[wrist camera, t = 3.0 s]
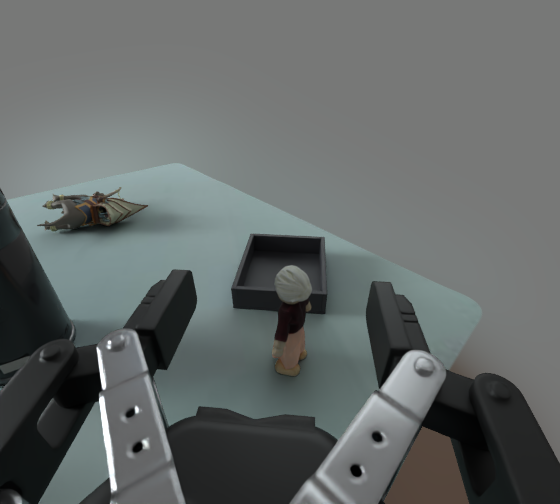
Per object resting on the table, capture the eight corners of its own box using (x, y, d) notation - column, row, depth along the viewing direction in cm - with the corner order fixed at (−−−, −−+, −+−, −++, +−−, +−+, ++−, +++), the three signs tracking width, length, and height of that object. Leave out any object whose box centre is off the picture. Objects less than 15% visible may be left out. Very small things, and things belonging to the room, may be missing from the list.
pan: (233, 307, 41) (231, 288, 39) (251, 250, 53) (250, 233, 51) (325, 314, 40) (327, 294, 38) (322, 254, 52) (324, 236, 50)
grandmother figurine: (281, 333, 37) (281, 245, 30) (312, 339, 37) (320, 250, 30) (262, 389, 31) (256, 295, 24) (299, 399, 30) (304, 303, 23)
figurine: (77, 178, 67) (155, 179, 68) (86, 205, 70) (160, 205, 71) (10, 214, 50) (115, 214, 51) (25, 246, 53) (124, 246, 54)
